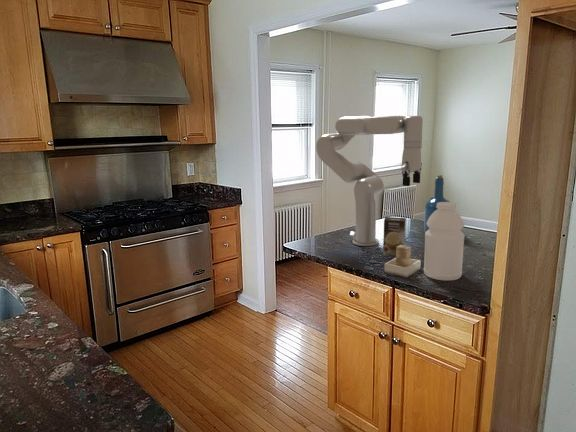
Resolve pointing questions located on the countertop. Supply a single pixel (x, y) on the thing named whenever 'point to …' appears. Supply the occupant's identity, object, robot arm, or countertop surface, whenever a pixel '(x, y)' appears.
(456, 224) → the bottle
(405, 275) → the white square tray
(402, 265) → the tan rounded cylinder
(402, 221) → the coffee box
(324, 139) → the robot arm
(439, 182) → the wine bottle
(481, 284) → the countertop surface
